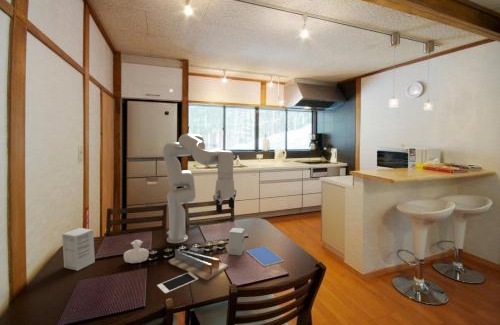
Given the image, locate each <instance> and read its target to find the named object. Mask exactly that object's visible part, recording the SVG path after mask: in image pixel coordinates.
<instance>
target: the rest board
mask: <svg viewBox="0 0 500 325" xmlns="http://www.w3.org/2000/svg"><path fill="white" fill-rule="evenodd" d="M187 252H189V250H188V251H187ZM168 263H169V264H170V265H172V266H175V267H177V268H179V269H181V270H184V271H186V272H187V273H188V272H191V273H192V274H194V275H195V276H196V277H198V278H199V277H200V278H202V279H204V280H206V281H209V280H210V279H212V278H214V277H216V276H217V275H219V274H220V273H221V272H224V270H225V271H226V269H228V268H227V267H229V265H228V264H226V263H223V262H220V261H219V268H214V267H212V274H208V273H206V272H204V271H201V270H199V269H197V268H194V267H192V266H190V265H187V264H185V263H183V262H180V261H178V260H176V259H175V257H173V258H171V259H169V260H168Z"/></svg>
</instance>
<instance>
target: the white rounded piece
mask: <svg viewBox="0 0 500 325" xmlns="http://www.w3.org/2000/svg"><path fill="white" fill-rule="evenodd" d="M142 244H143V241H142V240H140V239H135V240H133V241H132V242H130V245H131V246H132V247H133V248H132V249H129V250H126V251H125V252H124V253H123V260H124V262H125V263H130V264H137V263H142V262H146V261H147V260H148V258H149V256H150V255H149V254H150V251H149V250H148V249H147V248H141V246H142Z"/></svg>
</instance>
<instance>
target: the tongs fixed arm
mask: <svg viewBox="0 0 500 325" xmlns="http://www.w3.org/2000/svg"><path fill="white" fill-rule="evenodd" d="M174 253H175V254H174V255H175V256H174V258H175V259H176V260H178V261H180V262H183V263H185V264H187V265H190V266H192V267H194V268H197V269H199V270H201V271H204V272H206V273H208V274H212V264H210V263H208V262H204V261H202V260H199V259H197V258H194V257H192V256H189V255H187V254H184V253H182V252H181V249H180V248H175V249H174Z"/></svg>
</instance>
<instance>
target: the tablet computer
mask: <svg viewBox="0 0 500 325" xmlns="http://www.w3.org/2000/svg"><path fill="white" fill-rule="evenodd" d="M246 253H247V254H248V255H249V256H251V257H252V258H253V259H255V261H257V263H259V264H260V265H261V266H262V267H268V266H272V265H276V264H279V263H284V262H285V261H284V259H283V258H281V257H280V256H279V255H278V254H276V253H274V252H273V251H272V250H270V248H268V247H267V246H265V245H264V246H258V247H255V248H251V249H246Z"/></svg>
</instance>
